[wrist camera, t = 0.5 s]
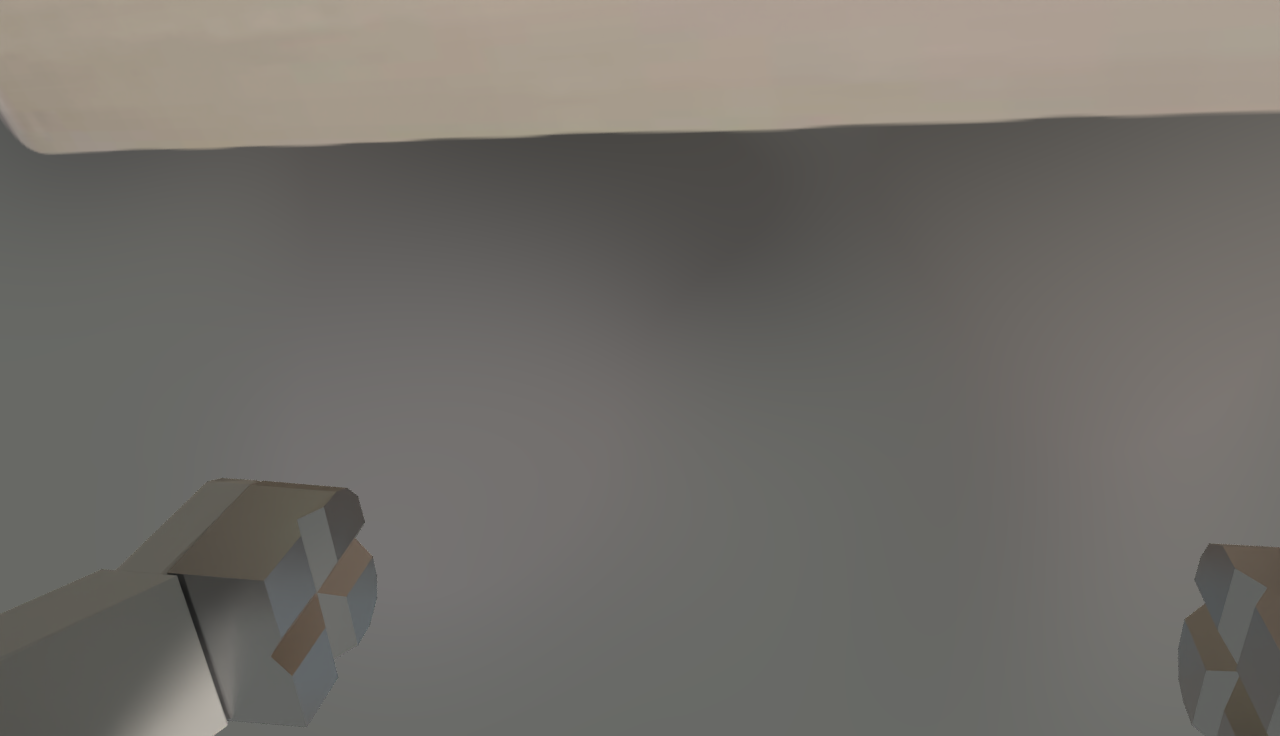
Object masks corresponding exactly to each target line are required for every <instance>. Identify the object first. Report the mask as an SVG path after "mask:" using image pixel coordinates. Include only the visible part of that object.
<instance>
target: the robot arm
mask: <svg viewBox="0 0 1280 736" xmlns="http://www.w3.org/2000/svg"><path fill="white" fill-rule="evenodd" d="M364 523H365V520H364V517H363V513H362V509H361V505H360V502H359V498H358V496H357V495H356V494H355V493H353V492H352V491H351V490H349V489H348V488H342V487H330V486H319V485H306V484H295V483H284V482H272V481H261V482H260V481H257V480H244V479H228V478H220V479H216V480H211V481H207V482H206V483H205V484H204V485H203V486H202V487H201V488H200V489H199V490H198V491H197V492H196V493H195V494H194V495H193V496H192V497H191V498H190V499H189V500H188V501H187V502H185V503H184V504H183V505H182V506H181V508H179V509H178V510H177V511H176V512H175V513H174V514H173V515H172V516H171V517H170V518H169V519H168V520H167V521H166V522H165V523H164V524H163V525H162V526H161V527H160V528H159V529H158V530H157V531H156V532H155V533H154V534H152V536H150V537H149V538H148V539H147V541H145V542H144V543H143V544H142V545H141V546H140V547H139V548H138V549H137V550H136V551H135V552H134V553H133V554H132V555H131V556H130V557H129V558H128V559H127V560H126V561H125V562H124V563H123V564H122V565H121V566H120V567H118V568H117V569H116V570H107V569H101V570H99V571H97V572H94V573H92V574H90V575H88V576H85V577H83V578H81V579H79V580H76V581H74V582H72V583H70V584H67V585H65V586H63V587H60V588H58V589H56V590H53V591H51V592H49V593H47V594H45V595H42V596H40V597H37V598H35V599H33V600H31V601H28V602H26V603H24V604H22V605H19V606H17V607H15V608H13V609H10V610H8V611H6V612H3V613H1V614H0V736H214V735H215V734H216V733H218V732H219V731H220V730H222V729H223V728H225V727H226V726H227V725H228V723H227V721H238V722H250V723H262V724H275V725H286V726H298V727H307V726H308V725H309V723H310V722H311V720H312V718H313V717H314V715H315V714H316V712H317V710H318V709H319V707H320V706H321V704H322V702H323V701H324V699H325V698H326V696H327V694H328V692H329V691H330V690H331V688H332V686H333V685H334V683H335V682H336V680H337V678H338V674H337V671H336V667H335V662H334V660H335V659H336V658H338V657H340V656H341V655H343V654H345V653H346V652H348V651H349V650H351V649H353V648H354V647H356V646H358V644H359V643H360V641H361V639H362V637H363V636H364V634H365V632H366V631H367V629H368V627H369V625H370V623H371V619H372V615H373V611H374V607H375V603H376V600H377V574H376V570H375V565H374V560H373V556H372V555H371V554H370V553H369V552H368V551H367V550H366V549H365V548H364V547H363V546H362V545H361V544H360V543H359V542H358V541H357V540H356V539H355V538H356V536H357V535H358V533H359V531H360V530H361V528H362V526H363V525H364ZM1195 582H1196V585H1197V587H1198V589H1199V591H1200V593H1201V595H1202V598H1203V600H1204V602H1205V604H1204V605H1202V606H1201V607H1200V608H1198V609H1197V610H1196V611H1195V612H1193V613H1192V614H1191V615H1189V616H1188V617H1187V618H1185V619H1184V624H1183V629H1182V634H1181V638H1180V643H1179V648H1178V667H1179V683H1180V688H1181V693H1182V698H1183V703H1184V705H1185V708H1186V711H1187V713H1188V716H1189V719H1190V721H1191V724H1192V726H1194V727H1195V728H1196V729H1197V730H1198V731H1200V732H1201V733H1202V734H1203V735H1205V736H1280V547H1265V546H1248V545H1230V544H1228V545H1227V544H1211V543H1209V545H1208V546H1207V548H1206V549H1205V551H1204V553H1203V554H1202V556H1201V558H1200V561H1199V565H1198V569H1197V572H1196V576H1195Z"/></svg>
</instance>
